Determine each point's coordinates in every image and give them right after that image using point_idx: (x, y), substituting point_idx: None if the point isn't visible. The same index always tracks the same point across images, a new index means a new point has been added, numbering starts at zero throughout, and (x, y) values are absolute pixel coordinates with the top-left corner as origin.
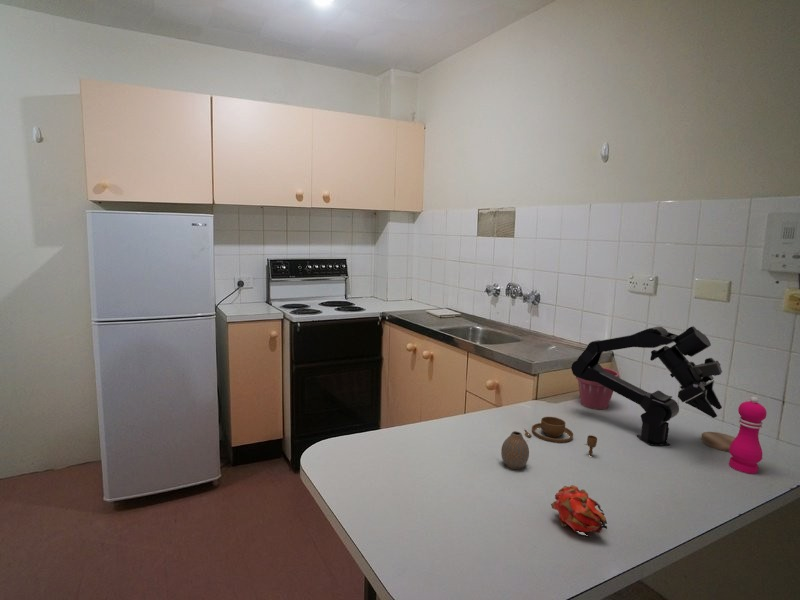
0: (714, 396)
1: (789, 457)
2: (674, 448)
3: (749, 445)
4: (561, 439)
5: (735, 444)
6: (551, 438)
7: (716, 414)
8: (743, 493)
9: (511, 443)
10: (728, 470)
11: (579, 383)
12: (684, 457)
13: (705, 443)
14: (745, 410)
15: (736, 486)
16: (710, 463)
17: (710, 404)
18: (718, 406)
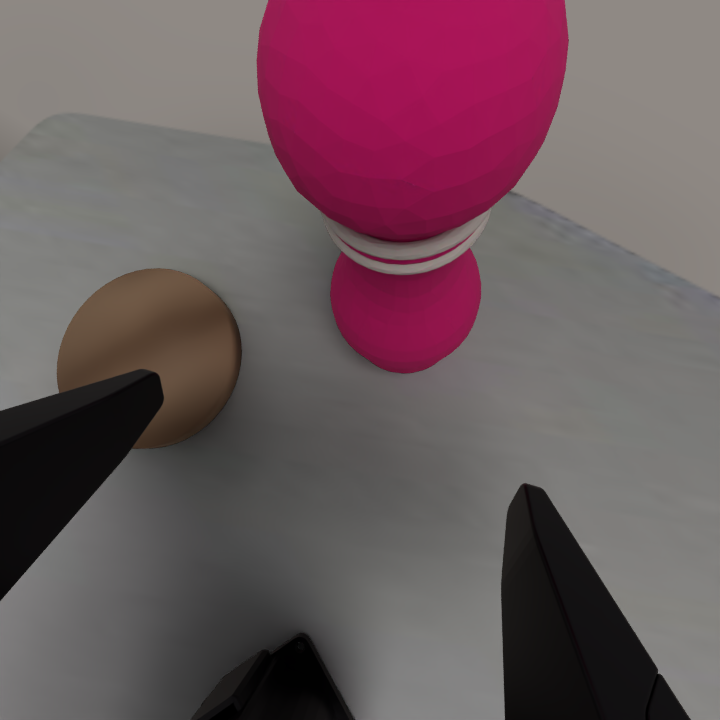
0: (4, 457)
1: (184, 141)
2: (331, 609)
3: (471, 267)
4: None
5: (439, 337)
6: None
7: (539, 496)
8: (704, 369)
9: None
10: (472, 387)
11: None
12: (431, 573)
13: (189, 436)
14: (527, 142)
15: (644, 385)
16: (434, 453)
17: (587, 647)
18: (142, 403)
